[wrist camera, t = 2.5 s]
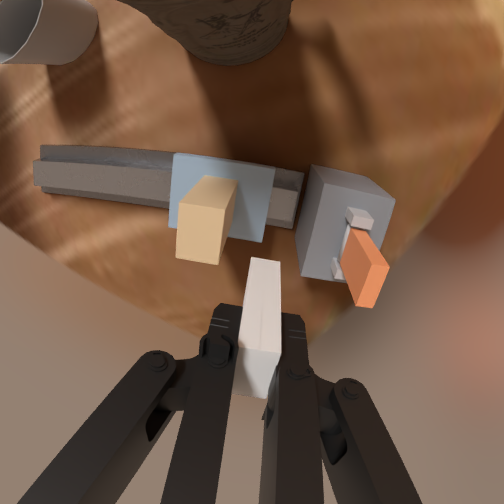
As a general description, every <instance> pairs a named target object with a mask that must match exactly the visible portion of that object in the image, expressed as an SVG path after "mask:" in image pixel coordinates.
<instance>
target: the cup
mask: <svg viewBox="0 0 504 504" xmlns="http://www.w3.org/2000/svg"><path fill="white" fill-rule="evenodd" d="M97 25H98V17H97V10H96V9H95V8H94V7H93V6H92V5H91V4H90V3H89V2H87V1H85V0H2V2H1V3H0V64H48V65H63V64H66V63H70V62H73V61H74V60H75V59H77V58H78V57H79V56H80V55H81V54H83V53H84V52H85V51H86V49H87V48H88V46H89V45H90V43H91V41H92V40H93V38H94V36H95V33H96V29H97Z"/></svg>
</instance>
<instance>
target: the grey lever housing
mask: <svg viewBox="0 0 504 504" xmlns="http://www.w3.org/2000/svg"><path fill="white" fill-rule="evenodd" d="M395 201H396V200H395V199H394V198H393V197H391V196H390V195H389V194H388V193H387V192H385V191H384V190H383V189H382V188H381V187H379V186H378V185H377V184H376V183H374V182H373V181H372V180H371V179H369V178H368V177H366V176H362V175H358V174H354V173H350V172H345V171H341V170H337V169H332V168H328V167H323V166H319V165H314V164H311V166H310V171H309V176H308V180H307V185H306V189H305V194H304V198H303V203H302V207H301V212H300V216H299V220H298V225H297V229H296V233H295V242H296V249H297V255H298V262H299V268H300V275H301V276H304V277H310V278H316V279H323V280H329V281H335V282H342V283H347V281H346V278H345V276H344V273H343V271H342V268H341V265H340V262H338V260H337V258H338V255H339V252H340V248H341V245H342V242H343V238H344V235H345V232H346V228H347V225H348V223H349V224H350V225H351V226H354V227H359V228H364V229H365V231H366V232H367V234H368V235H369V237H370V238H371V239H372V241H373V242H374V244H375V245H376V247H377V248H378V250H380V247H381V245H382V242H383V239H384V236H385V233H386V230H387V227H388V224H389V221H390V217H391V214H392V211H393V208H394V204H395Z"/></svg>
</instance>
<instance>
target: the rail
mask: <svg viewBox="0 0 504 504" xmlns="http://www.w3.org/2000/svg"><path fill="white" fill-rule="evenodd" d="M174 154H176V152H166V151H156V150H145V149H133V148H119V147H102V146H80V145H40V159H37V160H34V161H33V174H34V185H36V186H41V187H42V192H47V193H56V194H64V195H72V196H80V197H88V198H96V199H104V200H111V201H118V202H126V203H133V204H140V205H147V206H154V207H161V208H167V209H169V206H170V191H171V178H172V166H173V156H174ZM275 168H276V170H275V175H274V181H273V186H272V191H271V197H270V202H269V207H268V213H267V218H266V223H265V224H267V225H272V226H278V227H284V228H289V229H292V228H293V223H294V219H295V215H296V210H297V206H298V201H299V196H300V192H301V187H302V183H303V178H304V172H299V171H294V170H289V169H284V168H278V167H275Z"/></svg>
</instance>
